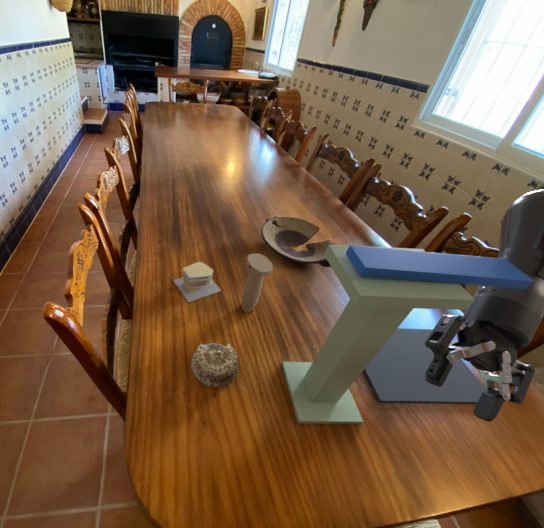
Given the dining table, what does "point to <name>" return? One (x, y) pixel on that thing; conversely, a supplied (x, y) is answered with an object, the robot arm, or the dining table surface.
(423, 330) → the mat
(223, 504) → the dining table surface
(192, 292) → the stacked layers on plate
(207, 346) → the grey speckled round piece
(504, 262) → the blue flat bar
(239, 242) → the dining table surface
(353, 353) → the stand
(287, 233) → the broken bowl
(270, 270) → the handle
